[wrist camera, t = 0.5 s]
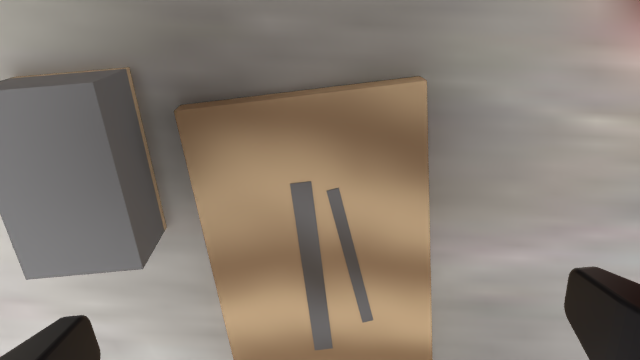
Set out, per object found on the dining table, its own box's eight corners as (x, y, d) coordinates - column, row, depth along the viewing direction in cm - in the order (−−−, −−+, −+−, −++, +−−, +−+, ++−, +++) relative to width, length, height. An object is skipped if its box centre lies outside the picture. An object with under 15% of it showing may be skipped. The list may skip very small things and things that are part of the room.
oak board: (427, 373, 27) (433, 390, 26) (248, 394, 27) (246, 412, 26) (419, 76, 20) (427, 80, 19) (180, 104, 20) (173, 111, 19)
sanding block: (167, 225, 23) (142, 269, 19) (70, 234, 23) (25, 279, 19) (130, 66, 20) (92, 82, 16) (17, 76, 20) (-47, 94, 16)
